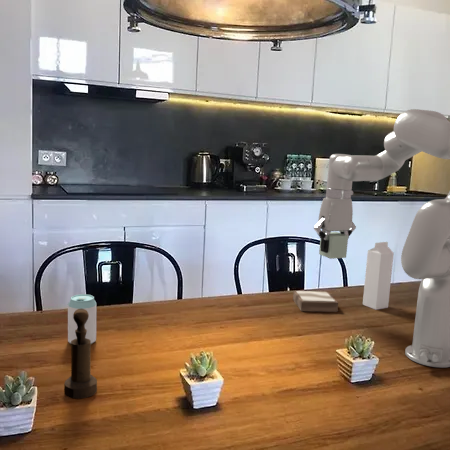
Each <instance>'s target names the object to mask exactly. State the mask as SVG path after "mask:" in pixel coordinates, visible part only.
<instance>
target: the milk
mask: <svg viewBox="0 0 450 450" xmlns="http://www.w3.org/2000/svg"><path fill="white" fill-rule="evenodd" d="M394 253H395V252H393V251H392V249H391V248H390V247H389V242H388V241H382V242H381V241H380V242H375V244H374V247H373V248H370V249H368V250H367V254H366V265H365V266H366V267H365V275H364V277H365V278H364V287H363V295H362V296H363V297H362V305H363V306H366V307H368V308H370V309H373V310H375V311H376V310H382V309H388V308H389V302H390V290H391V283H392V272H393V271H392V270H393V265H394V263H393V262H394Z"/></svg>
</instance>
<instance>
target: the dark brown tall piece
mask: <svg viewBox="0 0 450 450" xmlns="http://www.w3.org/2000/svg"><path fill="white" fill-rule="evenodd" d="M88 317H89V314H88V312H87V310H85V309H77V310H76V311H75V312H74V315H73V318H74V321H75V322H76V324H77V326H78V328H77V329H76V330H75V333H76V337H77V339H74V340H72V341H71V343H70V356H71V358H70V359H71V360H70V364H71V365H70V368H71V370H70V372H71V373H70V374H71V375H70V376H69V377H68V378H67V379H66V380H65V381H64V383H63V384H64V387H63V388H64V389H63V390H64V391H63V392H64V395H65V397H67V398H70V399H79V400H80V399H85V398H89V397H92V396H94V395H95V394H96V393H97V391H98V380H97V378H96V377H95V376H93V375H92V374H91V345H92V344H91V341H90V340H89V339H87V338H85V337H86V333H87V330H86V329H85V323H86V322H87V320H88Z"/></svg>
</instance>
